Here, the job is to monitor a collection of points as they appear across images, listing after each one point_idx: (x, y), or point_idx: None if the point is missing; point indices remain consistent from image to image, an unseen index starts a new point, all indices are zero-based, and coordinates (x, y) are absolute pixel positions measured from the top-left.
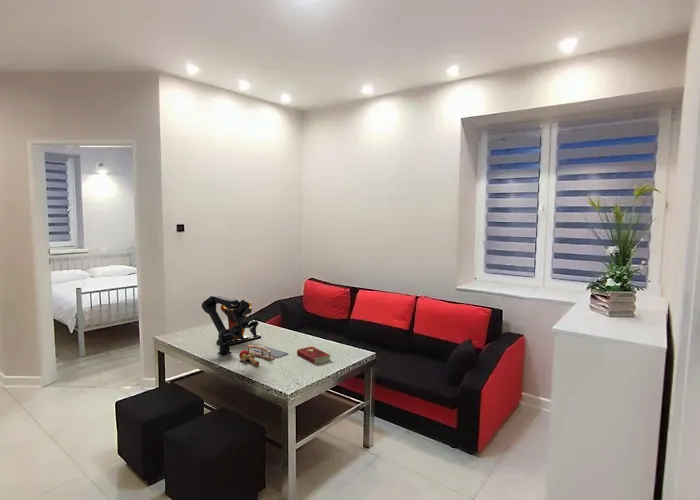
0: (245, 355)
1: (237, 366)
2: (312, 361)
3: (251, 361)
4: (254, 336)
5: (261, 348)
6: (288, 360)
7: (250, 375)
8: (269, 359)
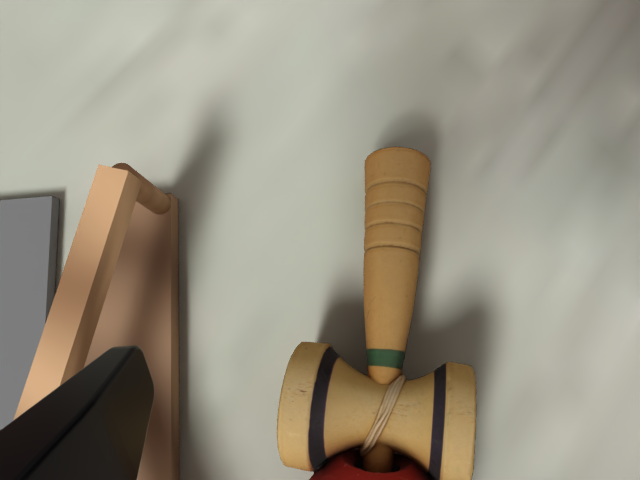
0: (460, 386)
1: (591, 345)
2: None
3: (418, 262)
4: (135, 459)
5: None
6: (37, 57)
7: (617, 7)
8: (172, 200)
